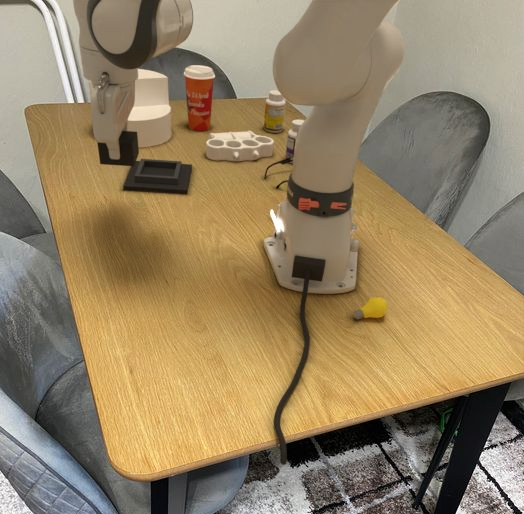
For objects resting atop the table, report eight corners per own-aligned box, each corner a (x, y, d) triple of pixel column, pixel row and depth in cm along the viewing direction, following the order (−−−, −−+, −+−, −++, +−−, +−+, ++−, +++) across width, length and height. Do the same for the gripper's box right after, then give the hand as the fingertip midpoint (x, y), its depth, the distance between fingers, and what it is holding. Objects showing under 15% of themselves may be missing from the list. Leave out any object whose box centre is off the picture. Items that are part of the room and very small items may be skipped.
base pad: (187, 194, 116) (186, 183, 114) (123, 190, 115) (122, 179, 113) (191, 168, 126) (191, 158, 125) (133, 164, 125) (132, 154, 124)
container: (106, 151, 130) (99, 94, 121) (87, 123, 142) (80, 69, 133) (182, 143, 137) (181, 89, 128) (158, 117, 150) (155, 66, 141)
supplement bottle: (267, 125, 152) (270, 87, 146) (285, 129, 151) (289, 91, 144) (260, 131, 148) (263, 93, 142) (279, 135, 147) (282, 96, 140)
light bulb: (389, 316, 88) (392, 306, 85) (357, 329, 88) (359, 319, 84) (379, 301, 90) (382, 290, 87) (348, 313, 89) (350, 303, 86)
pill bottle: (306, 157, 137) (311, 119, 130) (305, 166, 133) (310, 127, 126) (285, 155, 137) (290, 117, 130) (284, 163, 133) (288, 124, 126)
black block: (134, 166, 93) (132, 144, 91) (100, 164, 93) (97, 141, 90) (139, 153, 98) (137, 131, 95) (106, 151, 97) (103, 129, 94)
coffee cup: (180, 129, 145) (178, 70, 135) (191, 120, 151) (190, 62, 141) (208, 134, 143) (208, 75, 133) (218, 125, 149) (219, 67, 139)
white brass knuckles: (259, 139, 144) (280, 160, 134) (196, 143, 138) (213, 166, 128) (260, 127, 141) (281, 147, 132) (196, 130, 136) (213, 152, 126)
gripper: (119, 85, 77) (127, 174, 87) (138, 51, 93) (144, 130, 102) (75, 82, 77) (89, 172, 86) (102, 48, 92) (111, 128, 101)
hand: (119, 149), depth 94 cm, fingers closed on black block, 6 cm apart
